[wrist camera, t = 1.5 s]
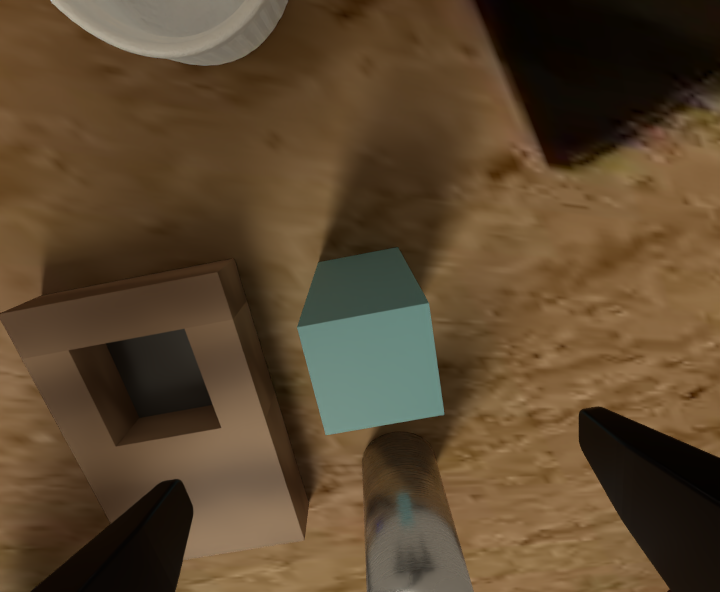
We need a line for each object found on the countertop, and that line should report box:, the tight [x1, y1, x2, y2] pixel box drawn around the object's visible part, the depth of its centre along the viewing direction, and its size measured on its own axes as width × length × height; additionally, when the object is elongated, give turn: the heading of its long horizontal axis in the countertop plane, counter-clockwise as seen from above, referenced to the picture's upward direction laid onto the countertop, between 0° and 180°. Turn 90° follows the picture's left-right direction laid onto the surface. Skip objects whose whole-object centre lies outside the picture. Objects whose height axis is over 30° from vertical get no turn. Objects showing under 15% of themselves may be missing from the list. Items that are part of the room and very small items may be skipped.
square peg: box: [297, 247, 444, 435], centre depth 16 cm, size 4×4×8 cm
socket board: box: [0, 258, 309, 560], centre depth 21 cm, size 16×10×2 cm, turn 11°
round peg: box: [362, 432, 474, 592], centre depth 20 cm, size 4×4×8 cm
